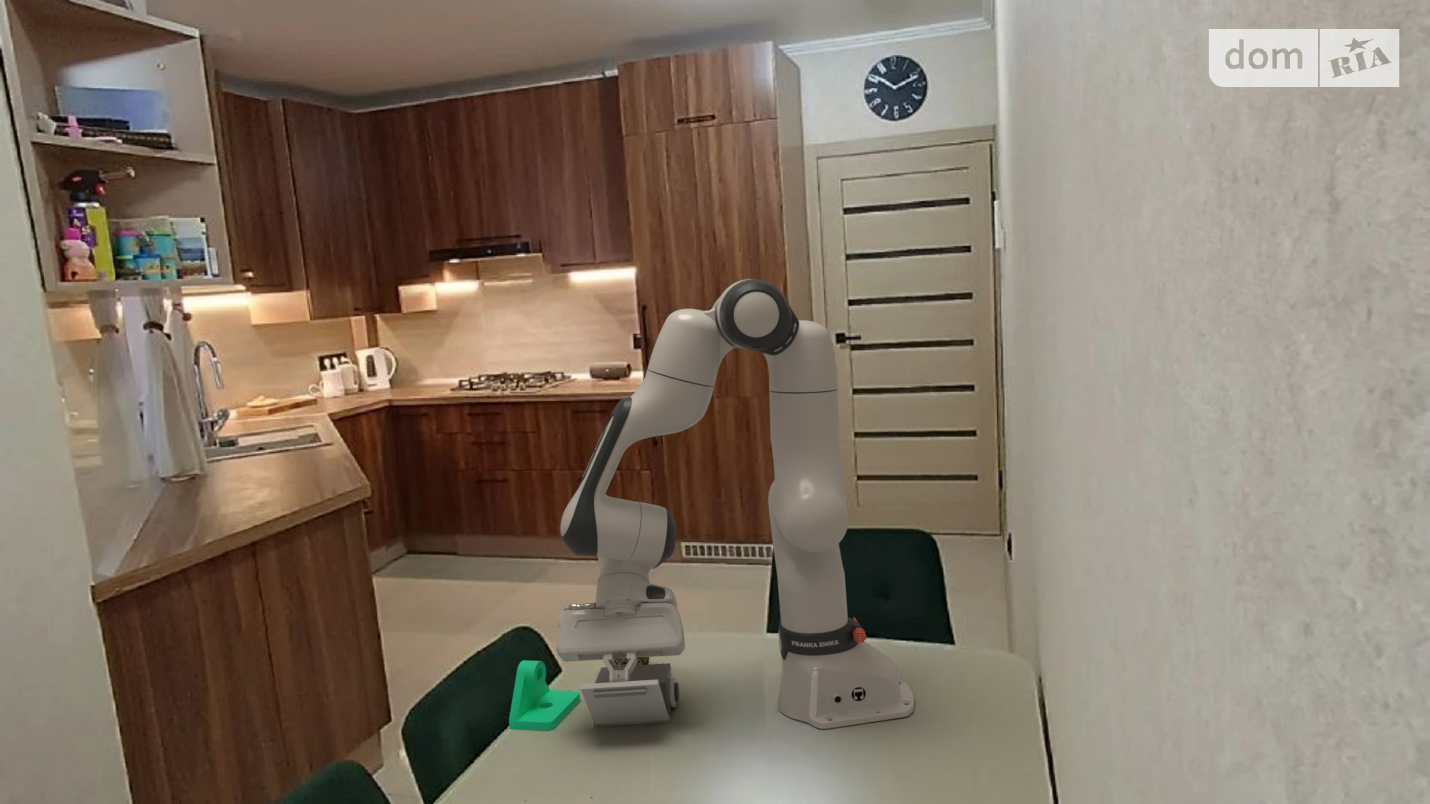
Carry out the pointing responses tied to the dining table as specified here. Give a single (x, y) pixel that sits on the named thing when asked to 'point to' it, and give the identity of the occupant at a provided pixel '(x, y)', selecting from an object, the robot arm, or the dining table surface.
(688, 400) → the robot arm
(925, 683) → the dining table surface
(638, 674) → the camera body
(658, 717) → the side door
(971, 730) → the dining table surface
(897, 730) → the dining table surface
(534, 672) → the camera mount
